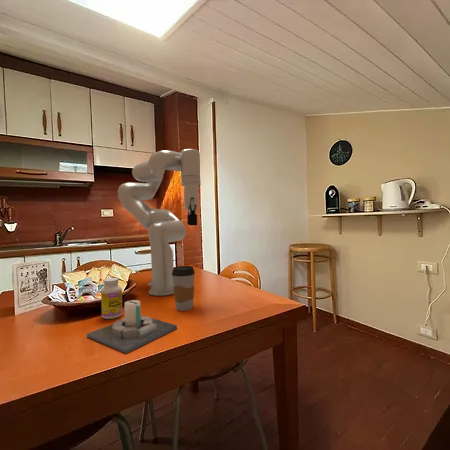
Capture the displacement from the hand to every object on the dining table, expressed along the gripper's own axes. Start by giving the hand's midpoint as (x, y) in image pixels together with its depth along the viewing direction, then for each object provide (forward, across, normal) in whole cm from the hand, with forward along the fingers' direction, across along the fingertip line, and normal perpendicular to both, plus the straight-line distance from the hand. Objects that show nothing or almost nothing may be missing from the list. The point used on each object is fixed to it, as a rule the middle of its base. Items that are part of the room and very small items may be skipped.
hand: (192, 224), depth 112 cm
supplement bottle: (+31, +11, -29) cm, 43 cm away
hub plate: (+30, +27, -20) cm, 45 cm away
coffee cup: (+31, +8, -4) cm, 32 cm away
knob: (+29, +27, -20) cm, 44 cm away
